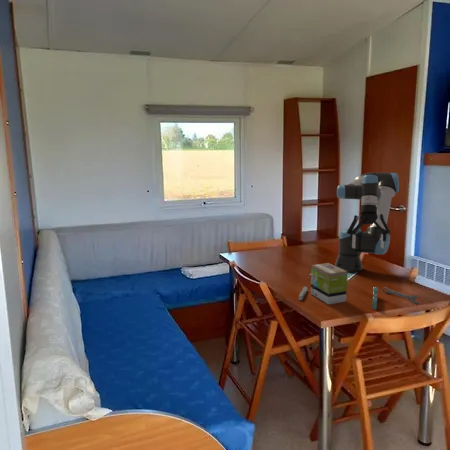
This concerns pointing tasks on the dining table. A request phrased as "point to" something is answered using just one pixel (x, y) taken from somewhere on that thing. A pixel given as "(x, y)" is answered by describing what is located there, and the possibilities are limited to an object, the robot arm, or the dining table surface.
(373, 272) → the dining table surface
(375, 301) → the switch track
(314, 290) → the tea box
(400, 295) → the combination wrench
